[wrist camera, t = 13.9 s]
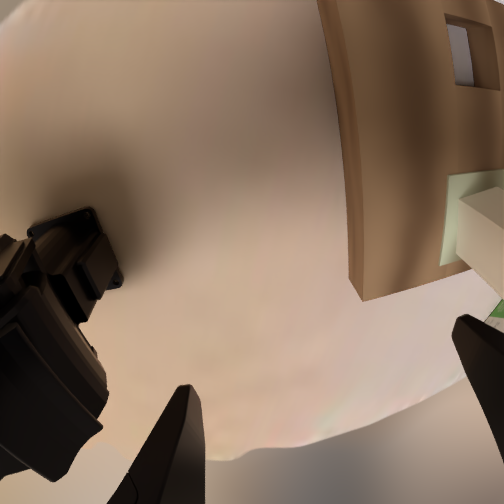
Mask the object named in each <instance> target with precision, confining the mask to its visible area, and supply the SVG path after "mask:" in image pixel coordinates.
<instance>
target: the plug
mask: <svg viewBox="0 0 504 504" xmlns="http://www.w3.org/2000/svg"><path fill="white" fill-rule="evenodd" d="M456 254H457V255H458V256H459V257H460V258H461V259H462V260H463V261H465V262H466V263H467V264H468V265H469V266H470V267H471V268H472V269H473V270H474V271H475V272H476V273H477V274H478V275H479V276H480V277H481V278H482V279H484V280H485V281H486V282H487V283H488V284H489V285H490V286H491V287H492V288H493V289H494V290H495V291H496V293H497V294H498V295H499V296H500V297H501V298H502V299H503V300H504V190H503V189H501V188H499V187H494V188H491V189H488V190H485V191H482V192H479V193H476V194H473V195H470V196H467V197H464V198H461V199H458V230H457V245H456Z"/></svg>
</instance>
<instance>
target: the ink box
mask: <svg viewBox="0 0 504 504" xmlns="http://www.w3.org/2000/svg"><path fill="white" fill-rule="evenodd" d="M484 323H486V324H488V325H490V326H492V327H494V328H496V329H497V330H499V331H501V332H503V333H504V300H503V299H502V300H501V302H500V303H499V304H498V306H497V307H496V308H495V310H494V311H493V312H492V313H491V315H490V316H489V317H488V318H487V320H486V321H485V322H484Z"/></svg>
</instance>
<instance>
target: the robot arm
mask: <svg viewBox="0 0 504 504" xmlns="http://www.w3.org/2000/svg"><path fill="white" fill-rule="evenodd" d="M86 212H88V213H89V214H90V217H89V216H87V215H86ZM32 232H33V233H34V234H32ZM27 236H28V238H27V239H24V240H21V241H16V239H13V238H11V237H10V236H8V235H7V234H3V235H1V236H0V481H1V479H3V478H4V477H5V476H7V475H10V474H14V473H18V472H21V471H24V470H28V469H32V470H33V471H35V472H36V473H38V474H40V475H41V476H43V477H44V478H46V479H47V480H49V481H50V482H56V481H57V480H59V479H60V478H62V477H63V476H64V475H65V474H67V472H68V470H69V468H70V466H71V464H72V462H73V461H74V458H75V457H76V455H77V453H78V452H79V450H80V448H81V447H82V446H83V445H84V444H85V443H86V442H87V441H88V440H89V439H90V438H91V437H92V436H94V435H95V434H97V433H98V432H100V431H101V430H102V429H103V425H102V424H101V423H100V422H99V421H98V420H97V419H98V417H99V415H100V414H101V412H102V410H103V408H104V407H105V405H106V403H107V400H108V396H109V391H108V390H107V380H106V372H105V371H104V369H103V367H102V365H101V363H100V362H99V360H98V359H97V352H96V350H95V349H94V347H93V346H90V344H89V343H88V341H87V340H86V338H85V336H84V335H83V333H82V332H81V330H80V329H79V324H80V323H83V322H87V321H88V319H89V317H90V315H91V312H92V310H93V308H94V306H95V304H96V302H97V300H100V299H101V298H102V296H103V294H104V292H105V291H106V290H111V289H116V288H120V287H121V286H122V284H123V277H122V275H121V273H120V271H119V269H118V262H117V260H116V257H115V255H114V253H113V250H112V248H111V245H110V243H109V241H108V238H107V236H106V234H105V233H103V231H102V228H101V225H100V223H99V220H98V218H97V215H96V212H95V210H94V209H93V208H92V207H89V206H88V207H84V208H81V209H78V210H75V211H72V212H69V213H66V214H63V215H60V216H58V217H55V218H52V219H49V220H46V221H44V222H41V223H38V224H36V225H33V226H31V227H30V228H28V230H27ZM115 280H118V282H116V281H115ZM452 340H453V343H454V345H455V347H456V350H457V352H458V355H459V357H460V360H461V363H462V365H463V368H464V370H465V373H466V375H467V377H468V379H469V381H470V383H471V386H472V388H473V390H474V392H475V394H476V396H477V398H478V400H479V403H480V405H481V407H482V409H483V412H484V414H485V416H486V418H487V421H488V423H489V425H490V428H491V430H492V433H493V435H494V438H495V441H496V443H497V446H498V449H499V451H500V454H501V457H502V459H503V463H504V333H503V332H501V331H499V330H497V329H496V328H494V327H492V326H490V325H488V324H486V323H484V322H482V321H480V320H478V319H477V318H475V317H473V316H471V315H469V314H464V315H462V316H459V317H458V318H457V319H456V322H455V325H454V328H453V331H452ZM128 472H129V473H126V475H125V477H124V479H123V480H122V482H121V483H120V485H119V487H118V488H117V490H116V491H115V493H114V494H113V495H112V497H111V498H110V500H109V501H108V502H107V504H205V437H204V428H203V419H202V409H201V401H200V398H199V396H198V395H197V393H196V391H195V389H194V388H193V386H192V385H190V384H187V385H180V386H178V387H177V389H176V390H175V392H174V394H173V395H172V397H171V399H170V401H169V402H168V404H167V406H166V407H165V409H164V411H163V413H162V414H161V416H160V418H159V419H158V421H157V423H156V424H155V426H154V428H153V430H152V431H151V433H150V435H149V436H148V438H147V440H146V441H145V443H144V445H143V446H142V448H141V450H140V452H139V453H138V455H137V457H136V458H135V460H134V462H133V463H132V465H131V467H130V469H129V470H128Z"/></svg>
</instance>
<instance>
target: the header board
mask: <svg viewBox="0 0 504 504" xmlns="http://www.w3.org/2000/svg"><path fill="white" fill-rule="evenodd" d="M317 4H318V8H319V12H320V17H321V21H322V26H323V30H324V35H325V40H326V45H327V50H328V56H329V61H330V67H331V72H332V78H333V85H334V91H335V98H336V105H337V112H338V120H339V128H340V136H341V145H342V155H343V166H344V177H345V190H346V206H347V225H348V253H349V280H350V281H351V283H352V285H353V286H354V288H355V290H356V291H357V293H358V295H359V297H360V298H361V300H362V302H364V301H368V300H372V299H375V298H379V297H383V296H386V295H390V294H393V293H397V292H400V291H404V290H407V289H411V288H414V287H417V286H421V285H424V284H427V283H430V282H434V281H437V280H440V279H443V278H446V277H449V276H452V275H455V274H458V273H461V272H464V271H467V270H470V269H472V268H471V267H470V266H469V265H468V264H467V263H466V262H465V261H463V260H462V259H461V258H460V257H459V256H458V255H457V254H456V245H457V230H458V199H461V198H464V197H467V196H470V195H473V194H476V193H479V192H482V191H485V190H488V189H491V188H494V187H499V188H501V189H503V190H504V5H503V4H501V3H499V2H496V1H494V0H317ZM446 24H450V25H455V26H459V27H463V28H466V30H467V35H468V41H469V47H470V53H471V60H472V68H473V76H474V87H471V86H461V85H455V76H454V68H453V60H452V53H451V47H450V41H449V36H448V30H447V26H446Z"/></svg>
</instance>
